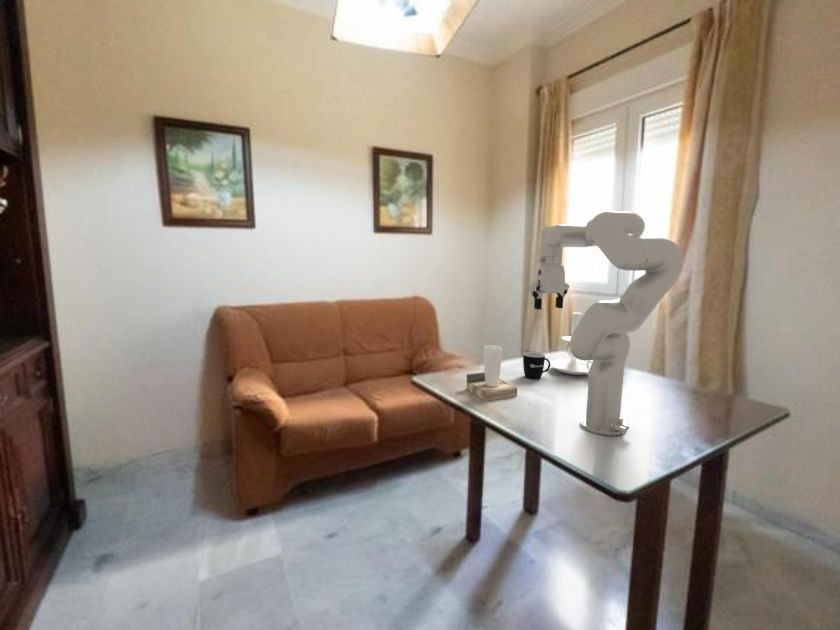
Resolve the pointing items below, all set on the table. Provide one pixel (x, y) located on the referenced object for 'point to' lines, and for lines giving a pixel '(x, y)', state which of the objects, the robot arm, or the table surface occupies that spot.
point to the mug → (534, 364)
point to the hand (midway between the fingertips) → (548, 308)
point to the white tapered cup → (492, 364)
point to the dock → (489, 388)
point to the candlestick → (572, 365)
